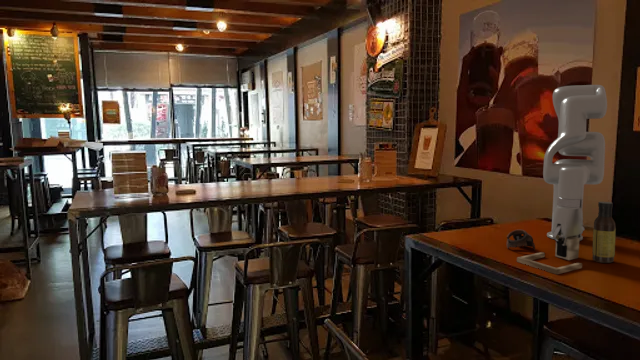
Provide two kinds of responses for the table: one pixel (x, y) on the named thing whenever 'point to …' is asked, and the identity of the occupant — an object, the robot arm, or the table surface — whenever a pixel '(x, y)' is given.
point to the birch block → (570, 248)
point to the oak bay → (559, 270)
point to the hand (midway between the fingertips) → (566, 254)
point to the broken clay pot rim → (520, 239)
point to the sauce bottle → (604, 234)
